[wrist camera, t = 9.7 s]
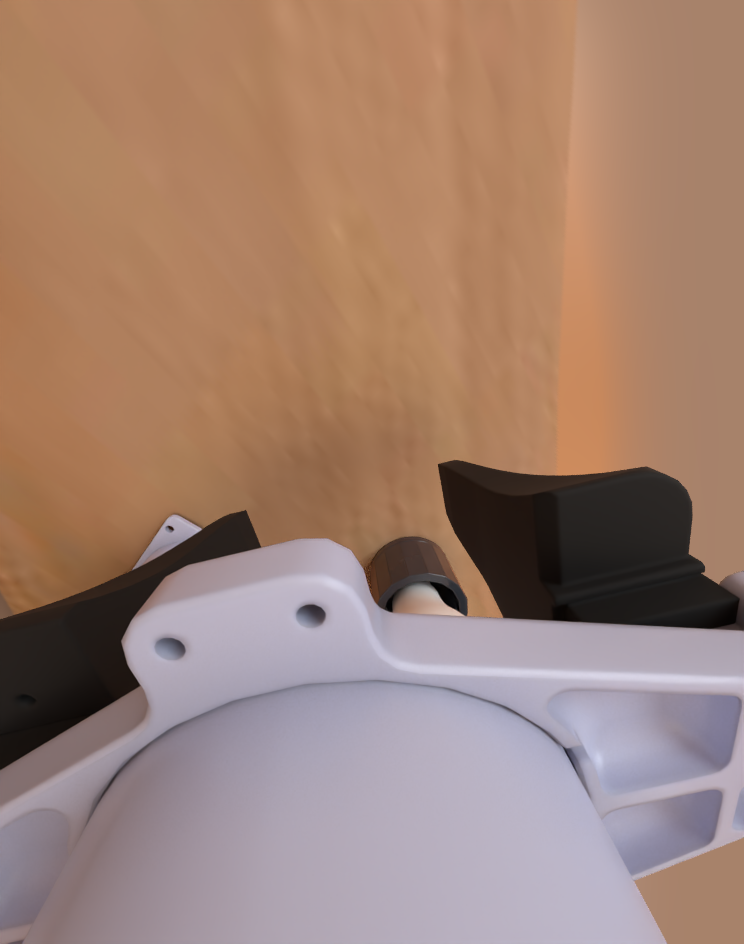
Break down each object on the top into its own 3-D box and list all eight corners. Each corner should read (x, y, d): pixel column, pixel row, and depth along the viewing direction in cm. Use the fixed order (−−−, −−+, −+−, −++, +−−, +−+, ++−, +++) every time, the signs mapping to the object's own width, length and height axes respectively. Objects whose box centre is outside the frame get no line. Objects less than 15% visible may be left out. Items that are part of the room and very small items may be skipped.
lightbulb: (465, 574, 26) (546, 723, 16) (403, 622, 27) (440, 791, 17) (413, 521, 24) (466, 651, 14) (348, 574, 25) (353, 731, 15)
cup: (413, 615, 28) (425, 663, 23) (353, 579, 26) (355, 623, 22) (463, 563, 26) (486, 603, 22) (404, 521, 25) (417, 557, 21)
